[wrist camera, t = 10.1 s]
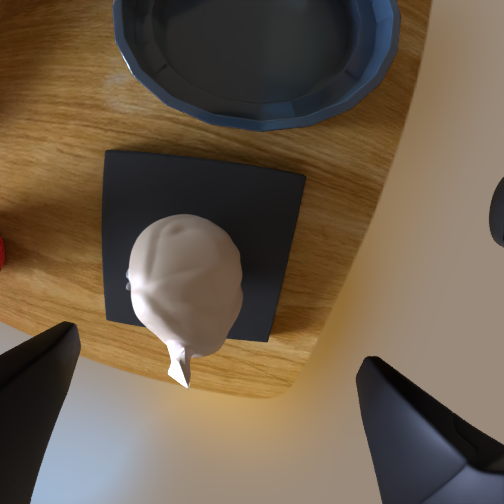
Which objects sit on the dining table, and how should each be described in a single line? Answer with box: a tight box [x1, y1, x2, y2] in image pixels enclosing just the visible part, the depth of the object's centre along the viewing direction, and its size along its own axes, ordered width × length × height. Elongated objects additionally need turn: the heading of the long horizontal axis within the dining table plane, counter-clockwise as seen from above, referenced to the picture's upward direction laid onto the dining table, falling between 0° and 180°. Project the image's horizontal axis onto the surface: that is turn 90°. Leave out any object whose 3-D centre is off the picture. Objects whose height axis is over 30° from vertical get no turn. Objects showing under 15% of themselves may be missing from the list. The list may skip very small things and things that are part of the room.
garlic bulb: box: [126, 214, 243, 388], centre depth 15 cm, size 7×6×8 cm
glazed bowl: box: [113, 0, 401, 132], centre depth 12 cm, size 14×14×4 cm
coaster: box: [102, 150, 306, 342], centre depth 19 cm, size 12×12×1 cm
